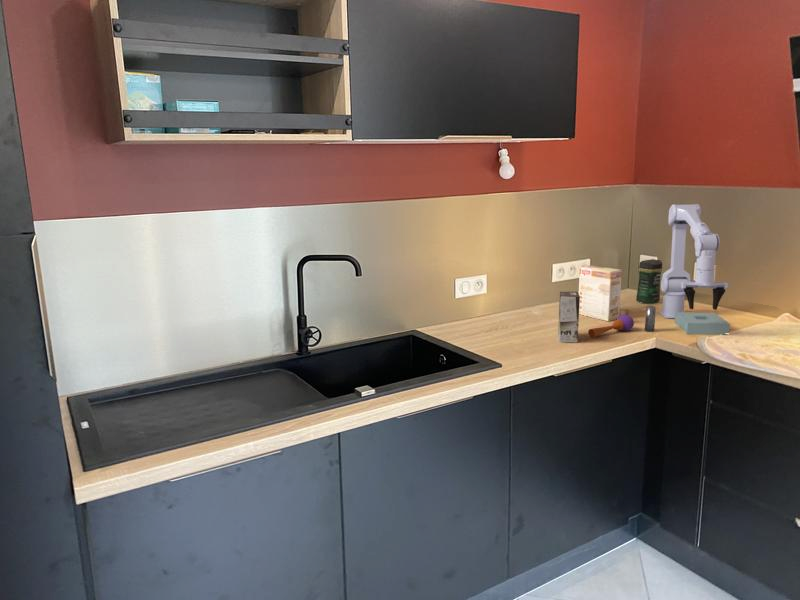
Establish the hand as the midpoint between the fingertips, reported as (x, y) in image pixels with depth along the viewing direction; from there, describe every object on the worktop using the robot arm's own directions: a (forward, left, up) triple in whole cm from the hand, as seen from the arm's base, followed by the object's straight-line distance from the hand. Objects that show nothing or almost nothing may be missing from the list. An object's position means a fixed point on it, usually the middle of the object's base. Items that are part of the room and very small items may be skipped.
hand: (702, 309), depth 216 cm
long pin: (-6, -16, -10) cm, 19 cm away
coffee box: (+7, -46, -10) cm, 47 cm away
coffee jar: (-54, -6, -10) cm, 55 cm away
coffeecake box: (-26, -31, -10) cm, 42 cm away
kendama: (-2, -30, -10) cm, 31 cm away
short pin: (-17, -23, -10) cm, 30 cm away
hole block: (-11, +3, -10) cm, 15 cm away
